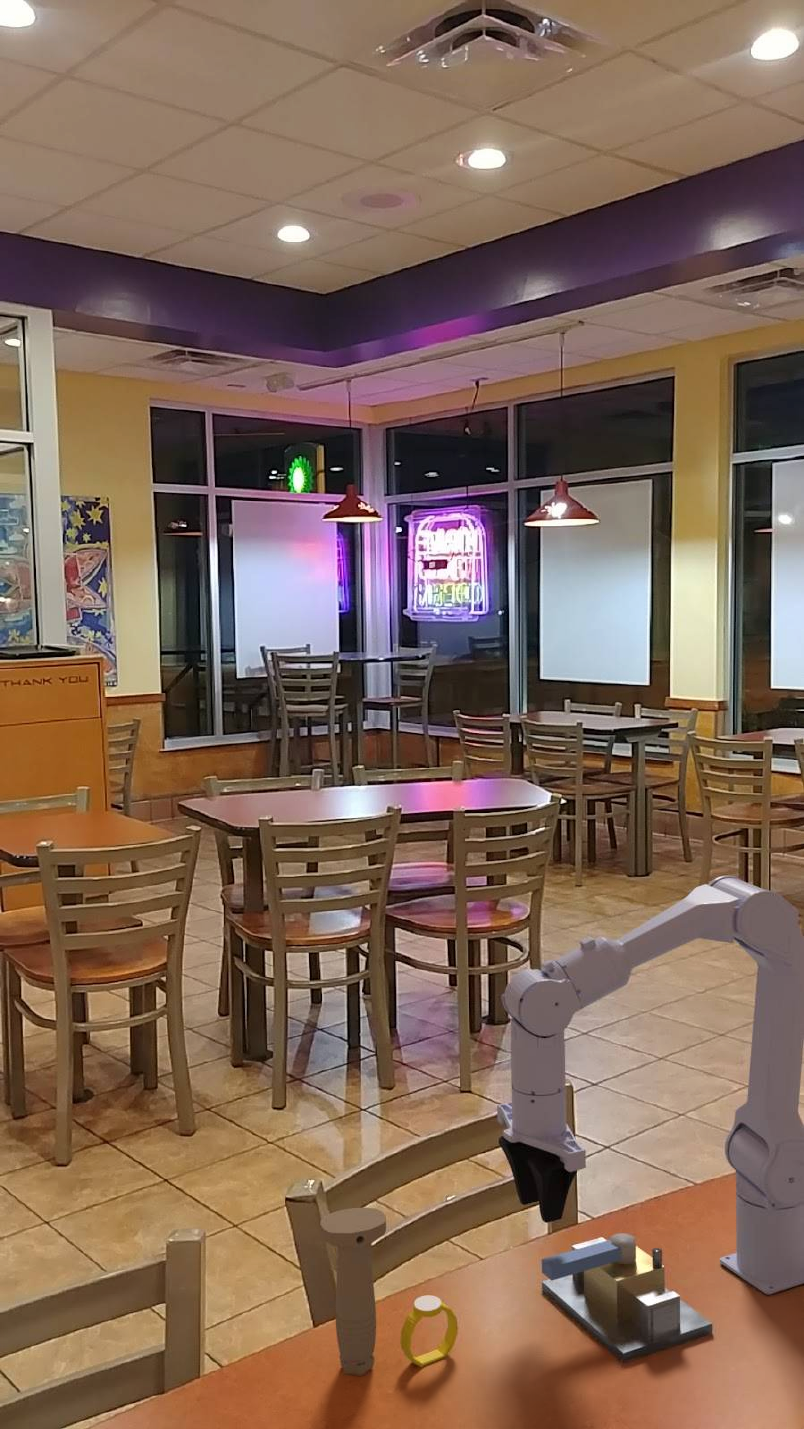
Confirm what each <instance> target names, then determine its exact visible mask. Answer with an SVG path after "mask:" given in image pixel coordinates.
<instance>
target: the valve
mask: <svg viewBox="0 0 804 1429" xmlns="http://www.w3.org/2000/svg"><path fill="white" fill-rule="evenodd" d="M604 1241H608V1240H607V1239H605V1237H598V1238H595V1239H591V1240H587V1241H584V1242H581V1243H577V1244H573V1245H571V1251H573V1250H576V1249H580V1248H583V1247H587V1246H590V1245H594V1244H597V1243H601V1242H604ZM651 1252H652V1253H651V1254H652V1255H649V1254H648V1253H647V1252H645V1251H644V1250H642V1249H641V1248H639V1247H638V1246H637V1245H636V1261H635V1262H633V1263H631V1264H620V1263H616V1262H613V1263H610V1264H606V1265H603V1266H600V1267H596V1268H593V1269H589V1270H586V1271H583V1272H579V1273H576V1274H572V1275H569V1276H566V1277H562V1278H559V1279H555V1280H552V1281H551V1280H550V1279H549V1278H548V1279H545V1280H542V1281H541V1290H542V1292H543V1293H544V1294H546V1295H547V1297H549V1298H550V1299H551V1300H552V1301H554V1303H556V1304H557V1305H558V1306H559V1307H560V1308H561V1309H562V1310H564V1311H565V1313H567V1314H568V1315H569V1316H570V1317H571V1318H573V1319H574V1321H576V1322H577V1323H578V1324H579V1326H581V1327H582V1328H584V1329H585V1331H587V1332H588V1333H589V1334H590V1335H591V1336H592V1337H594V1338H595V1339H596V1341H598V1342H599V1343H600V1344H601V1345H603V1346H604V1347H605V1348H606V1349H607V1350H609V1351H610V1353H611V1354H613V1355H614V1356H615V1357H616V1358H617V1359H619V1361H621V1363H623V1364H624V1363H628V1362H631V1361H634V1360H637V1359H640V1358H643V1357H645V1356H648V1355H652V1354H654V1353H657V1352H660V1351H662V1350H666V1349H669V1348H671V1347H675V1346H678V1345H681V1344H683V1343H687V1342H690V1341H693V1340H696V1339H698V1338H701V1337H704V1336H707V1335H710V1334H713V1323H712V1322H711V1321H710V1320H708V1318H706V1317H704V1316H703V1315H702V1314H700V1313H699V1312H698V1311H697V1310H695V1309H694V1308H693V1307H691V1305H688V1304H687V1303H686V1302H685V1301H683V1300H682V1299H681V1295H680V1294H678V1293H677V1292H675V1291H674V1290H672V1291H670V1290H669V1289H668V1288H666V1287H665V1284H666V1283H665V1277H666V1276H665V1265H663V1250H662V1249H661V1248H659V1247H654V1248H652V1251H651Z"/></svg>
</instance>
